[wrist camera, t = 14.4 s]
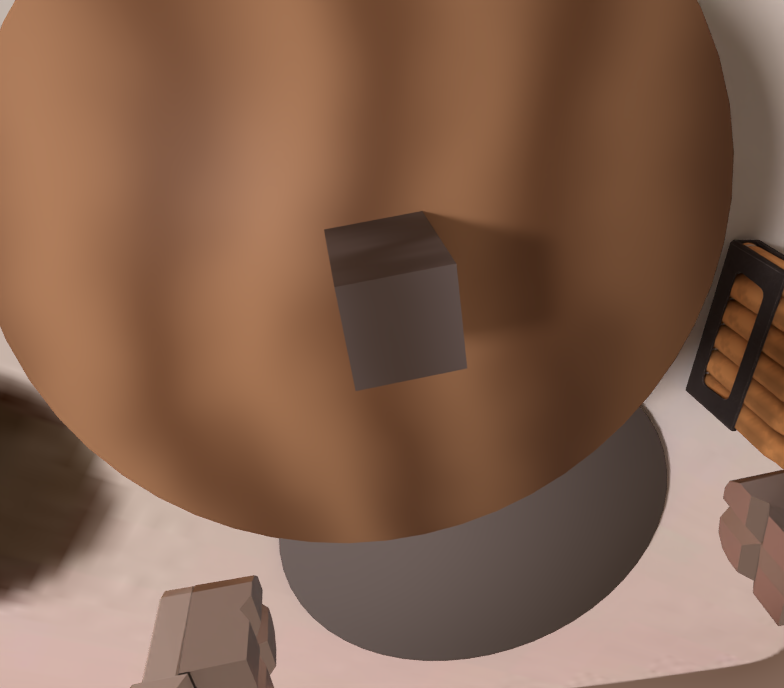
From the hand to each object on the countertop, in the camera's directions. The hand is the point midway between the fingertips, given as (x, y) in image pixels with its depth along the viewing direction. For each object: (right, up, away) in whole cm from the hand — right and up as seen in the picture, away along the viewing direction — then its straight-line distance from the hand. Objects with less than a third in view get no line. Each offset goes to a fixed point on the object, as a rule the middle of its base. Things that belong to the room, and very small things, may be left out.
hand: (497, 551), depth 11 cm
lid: (-2, +7, +13) cm, 15 cm away
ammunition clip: (+19, +5, +31) cm, 37 cm away
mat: (+4, -9, +36) cm, 37 cm away
